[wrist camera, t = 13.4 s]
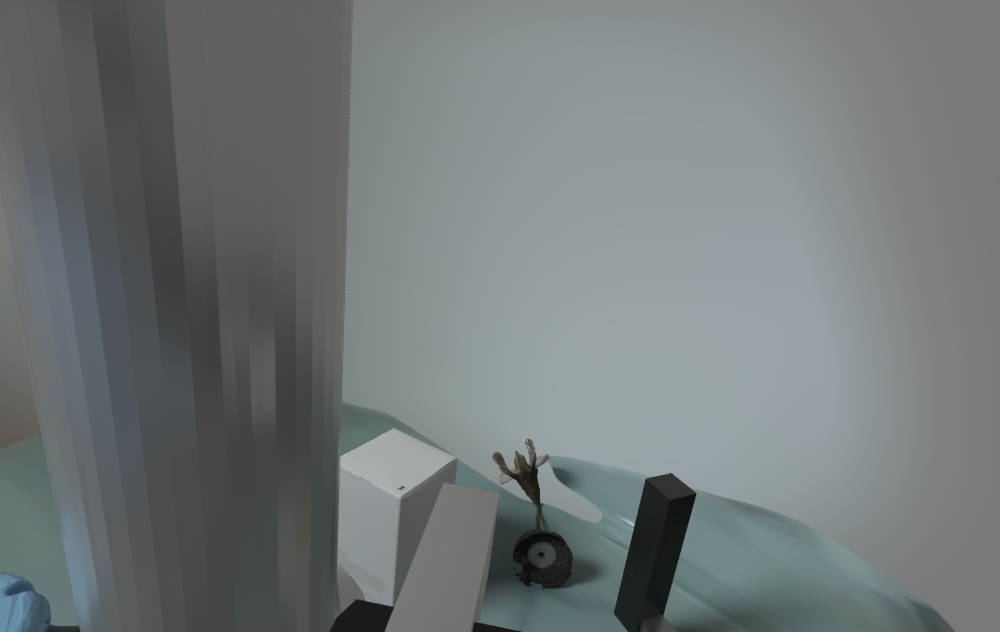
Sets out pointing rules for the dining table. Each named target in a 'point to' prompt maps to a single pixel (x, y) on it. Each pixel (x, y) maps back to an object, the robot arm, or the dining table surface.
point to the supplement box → (387, 509)
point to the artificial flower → (536, 548)
